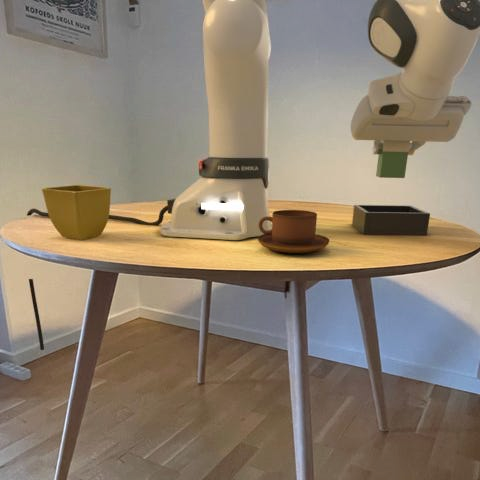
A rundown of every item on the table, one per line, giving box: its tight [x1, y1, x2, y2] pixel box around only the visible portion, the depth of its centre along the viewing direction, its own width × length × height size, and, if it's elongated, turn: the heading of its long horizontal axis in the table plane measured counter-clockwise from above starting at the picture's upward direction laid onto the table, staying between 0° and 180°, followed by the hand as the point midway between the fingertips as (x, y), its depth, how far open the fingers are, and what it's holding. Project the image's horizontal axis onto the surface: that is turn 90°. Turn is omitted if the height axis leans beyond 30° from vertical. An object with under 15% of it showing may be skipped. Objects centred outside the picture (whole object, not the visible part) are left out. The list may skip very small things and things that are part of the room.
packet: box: [375, 141, 411, 179], centre depth 95 cm, size 5×4×9 cm
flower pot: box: [41, 184, 112, 241], centre depth 86 cm, size 9×9×9 cm
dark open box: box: [351, 204, 431, 236], centre depth 98 cm, size 13×12×4 cm
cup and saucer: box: [257, 209, 330, 254], centre depth 79 cm, size 12×12×6 cm
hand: (391, 152), depth 95 cm, fingers closed on packet, 5 cm apart
